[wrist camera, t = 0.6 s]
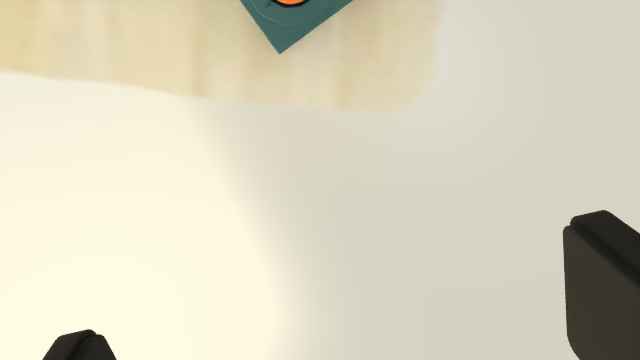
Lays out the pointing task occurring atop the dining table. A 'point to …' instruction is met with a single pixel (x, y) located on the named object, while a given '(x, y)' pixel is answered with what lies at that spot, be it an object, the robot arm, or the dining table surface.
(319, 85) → the dining table surface
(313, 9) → the button base
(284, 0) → the orange button cap
